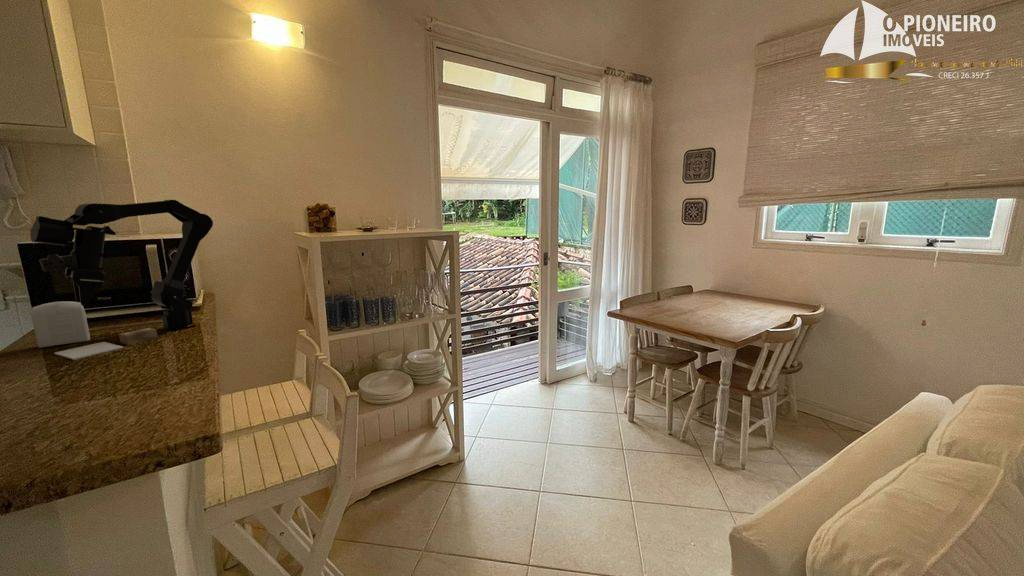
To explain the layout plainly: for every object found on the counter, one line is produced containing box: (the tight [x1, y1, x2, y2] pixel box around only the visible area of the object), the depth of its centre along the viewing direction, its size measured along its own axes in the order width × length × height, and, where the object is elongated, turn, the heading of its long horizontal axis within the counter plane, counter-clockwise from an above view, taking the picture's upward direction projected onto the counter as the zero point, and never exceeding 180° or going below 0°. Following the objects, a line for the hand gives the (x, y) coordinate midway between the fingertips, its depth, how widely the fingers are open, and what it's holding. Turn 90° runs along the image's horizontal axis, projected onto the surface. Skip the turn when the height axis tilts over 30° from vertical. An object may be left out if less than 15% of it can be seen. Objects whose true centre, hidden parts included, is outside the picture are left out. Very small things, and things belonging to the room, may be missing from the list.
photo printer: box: [30, 300, 91, 349], centre depth 114 cm, size 10×4×12 cm, turn 134°
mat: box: [53, 341, 124, 361], centre depth 108 cm, size 10×11×1 cm
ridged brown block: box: [118, 327, 159, 346], centre depth 117 cm, size 7×4×3 cm, turn 156°
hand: (81, 303), depth 109 cm, fingers open, 9 cm apart
